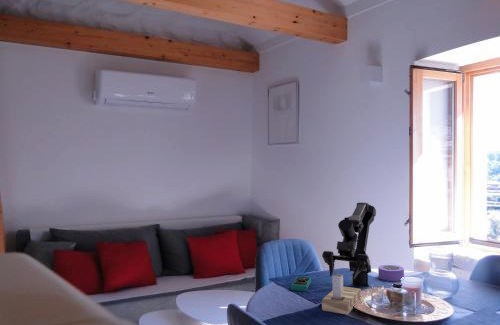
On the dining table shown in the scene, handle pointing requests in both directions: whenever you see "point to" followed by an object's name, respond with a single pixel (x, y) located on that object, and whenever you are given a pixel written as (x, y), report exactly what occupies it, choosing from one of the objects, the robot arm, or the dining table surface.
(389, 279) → the tape roll
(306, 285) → the digital multimeter
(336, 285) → the square bit
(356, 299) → the socket block
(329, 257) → the robot arm
